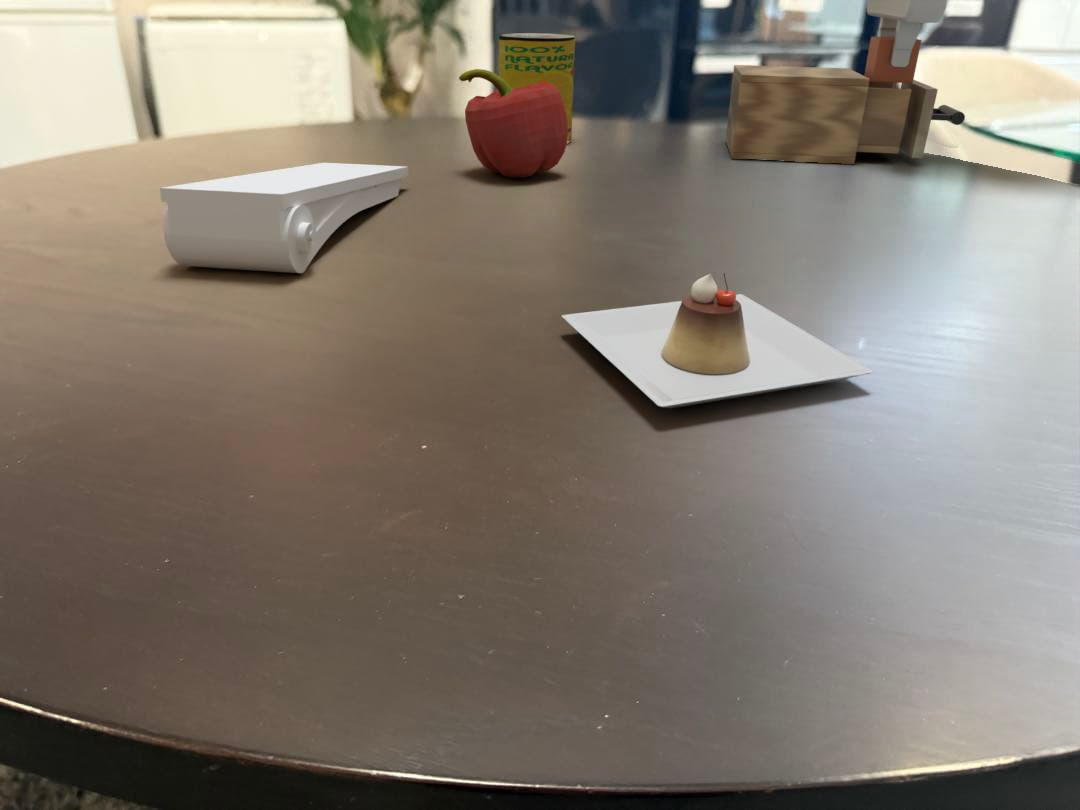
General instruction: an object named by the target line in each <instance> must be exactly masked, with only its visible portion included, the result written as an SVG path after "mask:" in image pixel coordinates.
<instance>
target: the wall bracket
mask: <svg viewBox="0 0 1080 810" xmlns="http://www.w3.org/2000/svg"><path fill="white" fill-rule="evenodd" d="M404 178H409V166H404V165H382V164H381V165H380V164H364V163H363V164H361V163H340V162H318V163H312V164H306V165H300V166H294V167H286V168H279V169H274V170H267V171H262V172H261V171H260V172H255V173H248V174H241V175H235V176H229V177H221V178H214V179H209V180H202V181H196V182H189V183H182V184H176V185H170V186H169V185H168V186H162V187H159V191H160V200H161V203H166V205H167V206H166V208H165V210H164V214H163V219H162V230H163V231H162V232H163V238H164V242H165V246H166V248H167V251H168V252H169V254H170V256H171V258H172V259H173V260H174V261H175V262H176V263H177V264H178V265H180V266H182V267H194V268H208V269H209V268H212V269H227V270H243V271H259V272H272V273H290V274H304V273H305V272H306V270H307V269H308V267H309V265H310V264H311V262H312V260H313V259H314V257H315V256H316V255H317V253H318V252H319V250H320V249H321V248H322V246H323V245H324V244H325V242H326V241H327V240H328V239H329V238H330V237H331V235H332V234H333V233H334V232H335V231H336V230H337V229H338V228H339V227H341V225H343V223H345V222H346V221H347V220H349V219H350V218H351V217H353V216H354V215H356V214H358V213H359V212H361V211H363V210H366V209H368V208H372V207H374V206H375V205H379V204H382V203H383V202H386V201H388V200H392V199H394V198H396V197H398V196H399V192H400V190H401V183H402V179H404Z"/></svg>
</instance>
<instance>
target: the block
mask: <svg viewBox="0 0 1080 810" xmlns="http://www.w3.org/2000/svg"><path fill="white" fill-rule="evenodd" d="M895 38H896V37H879V36H871V37H870V42H869V47H868V52H867V56H866V64H865V69H864V75H863V76H865V77H867V78H869V79H870V81H872V82H893V83H895V84H896V83H897V84H899V83H900V84H902V83H913V80H915V79H914V78H915V74H916V69H917V65H918V64H917V63H918V59H919V55H920V51H921V50H920V49H921V45H922V39H919V38H917V39H916V41H915V43H914V46H913V48H912V50H911V55H910V59H909V64H908V65H907V66H906V67H894V66H891V65H890V64H889V58H890V53H891V48H893V46H894V42H895Z"/></svg>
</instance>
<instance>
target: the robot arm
mask: <svg viewBox="0 0 1080 810" xmlns="http://www.w3.org/2000/svg"><path fill="white" fill-rule="evenodd" d="M947 2H948V0H866V2H865V3H866V4H865V5H866V13H867V15H868V16H871V17H877V18H880V20H879V24H878V37H896V38H895V42H894V46H893V48H891V53H890V58H889V64H890V65H891V66H894V67H906V66H907V65H908V64H909V59H910V55H911V50H912V48H913V46H914V43H915V41H916V39H918V36H919V34H920V31H921V25H922V24H937V23H939V22H940V21H941V20H942V18H943V17H944V14H945V11H946V8H947V4H948V3H947Z"/></svg>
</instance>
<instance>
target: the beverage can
mask: <svg viewBox="0 0 1080 810" xmlns="http://www.w3.org/2000/svg"><path fill="white" fill-rule="evenodd" d="M575 49H576V36H575V35H571V34H563V33H562V34H560V33H544V32H543V33H541V32H540V33H539V32H538V33H537V32H511V33H501V34H500V33H499V34H498V76H500V77H501V78H502V79H503V80H504V81H505V82H506V83H507V84H508V85H509V86H510V87H511V88H512V89H514V88H516V87H525V86H528V85H531V84H536V83H539V82H542V81H546V82H548V83H550V84H552V85H554V86H555V87H556V88H557V89H558V91H559V92H560V94H561V96H562V99H563V102H564V106H565V111H566V116H567V122H568V136H567V141H570V140H571V141H572V137H573V135H572V133H573V132H572V131H573V107H574V105H573V104H574V103H573V102H574V79H575V78H574V77H575V53H576V52H575Z"/></svg>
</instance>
